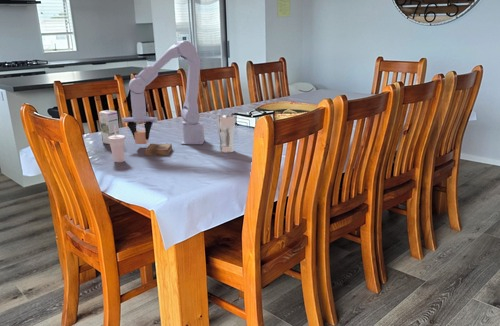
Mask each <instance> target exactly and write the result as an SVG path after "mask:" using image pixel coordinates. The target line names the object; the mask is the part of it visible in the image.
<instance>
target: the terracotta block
mask: <svg viewBox="0 0 500 326" xmlns="http://www.w3.org/2000/svg"><path fill="white" fill-rule="evenodd" d="M134 135H135V140H134V142H135V144H134V145H146V144H148V142H149V139H148V140H146V131H145V129H136V132H134Z"/></svg>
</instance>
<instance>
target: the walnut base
mask: <svg viewBox="0 0 500 326" xmlns="http://www.w3.org/2000/svg"><path fill="white" fill-rule="evenodd" d="M172 150H173V145H172V143H150V144H149V145H148V146H147V147H145V153H144V154H145V156H169V154H170V153H171V152H172Z"/></svg>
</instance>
